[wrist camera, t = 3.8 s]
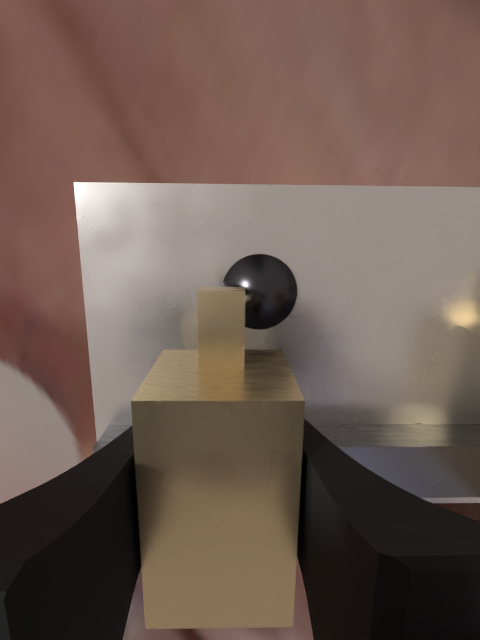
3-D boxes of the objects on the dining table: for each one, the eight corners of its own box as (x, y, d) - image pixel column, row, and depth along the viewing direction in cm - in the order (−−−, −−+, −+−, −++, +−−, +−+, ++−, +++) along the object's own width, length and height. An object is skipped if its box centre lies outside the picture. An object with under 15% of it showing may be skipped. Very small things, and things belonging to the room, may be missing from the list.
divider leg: (271, 489, 13) (292, 626, 9) (176, 490, 13) (145, 628, 9) (278, 278, 12) (310, 306, 7) (169, 278, 12) (124, 304, 7)
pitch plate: (565, 477, 16) (805, 649, 9) (115, 480, 15) (25, 662, 9) (633, 195, 13) (1040, 150, 7) (91, 188, 13) (-61, 133, 6)
